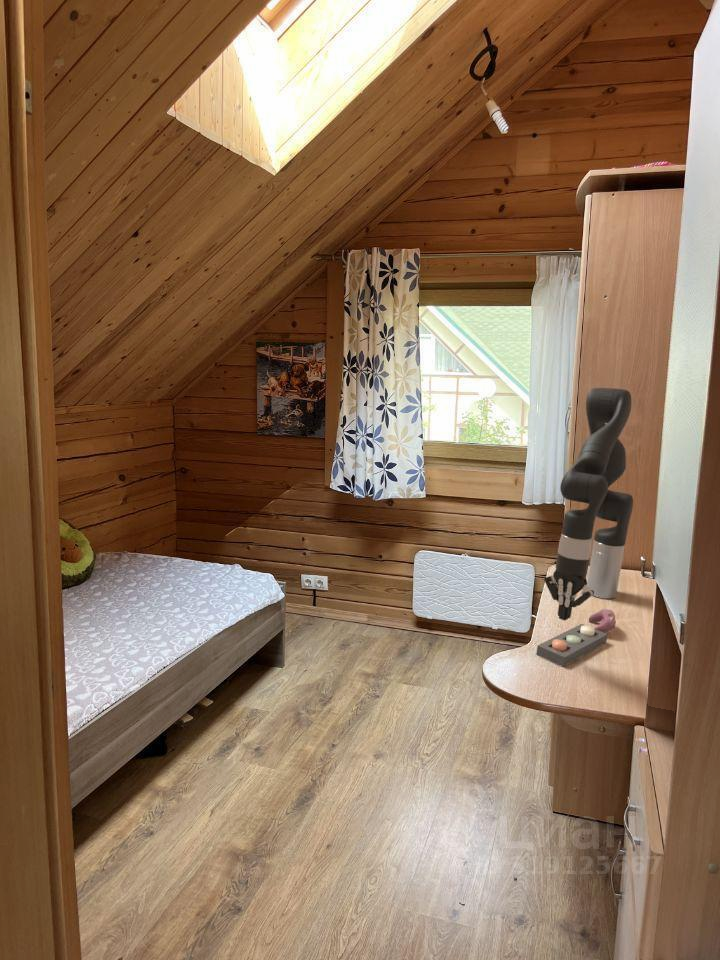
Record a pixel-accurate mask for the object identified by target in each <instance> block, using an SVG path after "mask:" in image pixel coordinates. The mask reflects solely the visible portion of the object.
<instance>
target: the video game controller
mask: <svg viewBox="0 0 720 960" xmlns="http://www.w3.org/2000/svg"><path fill="white" fill-rule="evenodd" d="M588 621H589V623H592V624H596V623H599V625H597V626H595V627H593V628H594V629H596V630H599V631H601V632H604V633H606V634H608V633H609V632H611V631H612V630H614V629H616V624H617V621H616V615H615V612H614V611H613V610H612V609H610V608H606V607H604V608H602V609H600V610H599V611H596V612H595V613H592V614H591V615H589V617H588Z"/></svg>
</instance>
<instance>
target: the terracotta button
mask: <svg viewBox="0 0 720 960" xmlns="http://www.w3.org/2000/svg"><path fill="white" fill-rule="evenodd" d="M552 648H553V649H556V650H558V651H560V652H564V651H566V650H567V642H565V641H563V640H560V639H555V640H553V642H552Z"/></svg>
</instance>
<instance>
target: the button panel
mask: <svg viewBox="0 0 720 960" xmlns="http://www.w3.org/2000/svg"><path fill="white" fill-rule="evenodd" d="M581 626H587V625H585V623H580V624H578V625H576V626H574V627H572V628H570V629H568V630H566V631H564V632H563V633H560V634H558V635H556V636H554V637H552V638H549V639H548V640H546V641H543V642H542V643H540V644H538V645H537V647H536V654H535V655H536V656H539V657H541V658H543V659H546V660H548V661H549V662H552V663H554V664H556V665H558V666H560V665H561V667H565V666H567V665H568V664H571V663H573V662H574V661H576V660H578V659H579V658H581V657H583V656H585V655H586V654H587V655H588V653H590V652H592V651H594V650H596V649H597V648H599V647H601V646H603V645H605V644H607V640H608V633H604V632H601V631H599V630H596V629H595V633H594V636H593V637H591V638H590V637H588V636H585V635H583V634H580V629H581ZM568 635H575V636H578V637H579V638H581V643H579V644H578V645H576V644H574V643H571V642H569V641H566V638H567V636H568ZM555 639H560V640H563V641H565V642H567V650H566V651H564V652H560V651H558V650H556V649H553V648H552V642H553V640H555Z"/></svg>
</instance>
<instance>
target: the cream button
mask: <svg viewBox="0 0 720 960" xmlns="http://www.w3.org/2000/svg"><path fill="white" fill-rule="evenodd" d="M594 628H595V627H593V626H590V625H586V626H581V629H580V634H583V635H585V636H588V637H590V638H591V637H593V636H594V633H595V629H594Z"/></svg>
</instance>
